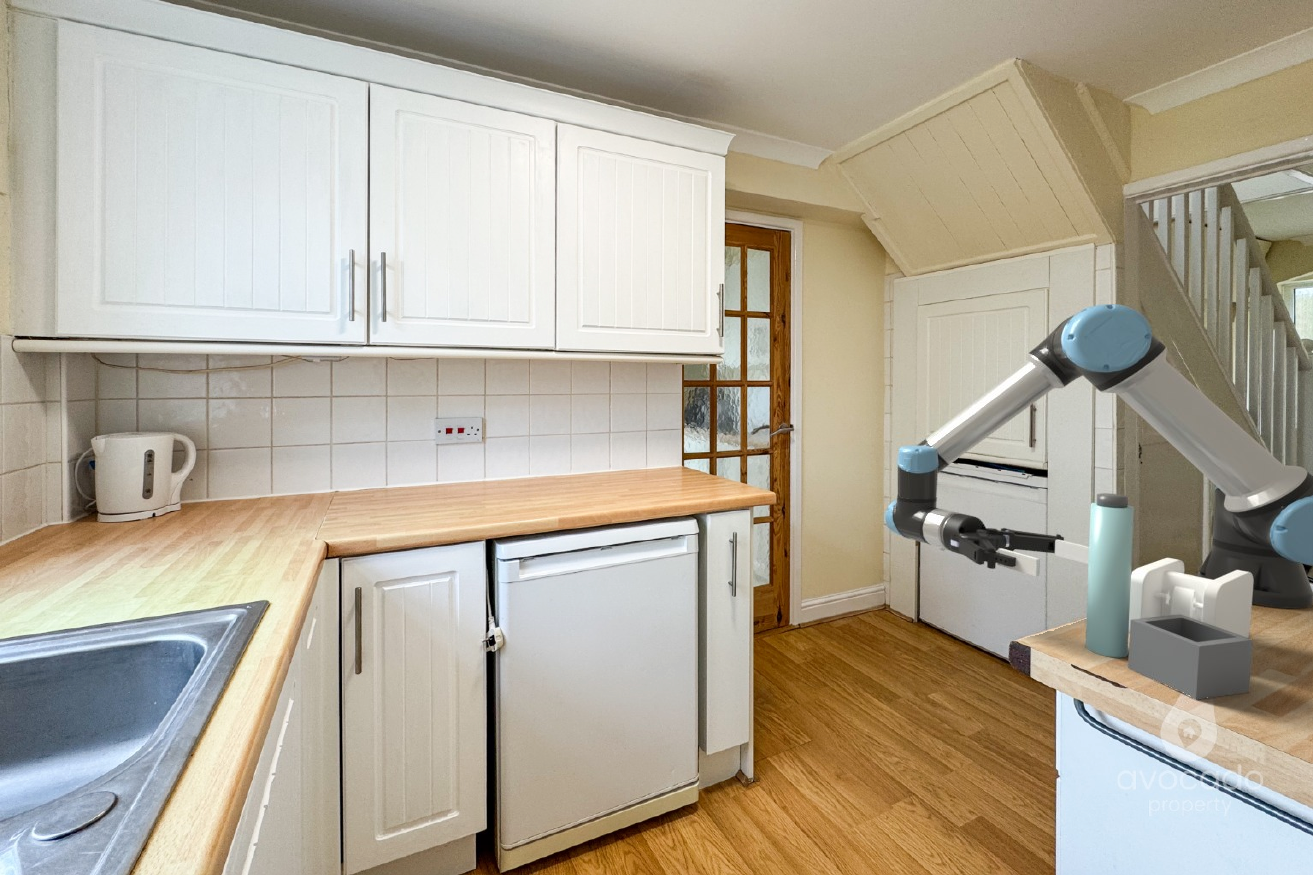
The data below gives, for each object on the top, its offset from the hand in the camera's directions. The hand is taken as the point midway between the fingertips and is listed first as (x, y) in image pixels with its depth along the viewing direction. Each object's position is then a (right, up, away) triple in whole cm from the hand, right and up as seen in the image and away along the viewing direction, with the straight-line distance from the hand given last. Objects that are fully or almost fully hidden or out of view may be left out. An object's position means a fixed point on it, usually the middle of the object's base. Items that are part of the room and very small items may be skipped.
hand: (1068, 562), depth 91 cm
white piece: (+17, -12, -2) cm, 21 cm away
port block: (+6, -13, -13) cm, 19 cm away
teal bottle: (+3, -12, -4) cm, 13 cm away
